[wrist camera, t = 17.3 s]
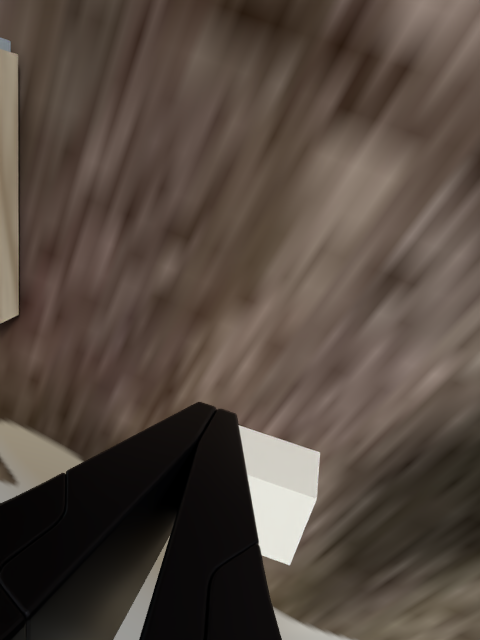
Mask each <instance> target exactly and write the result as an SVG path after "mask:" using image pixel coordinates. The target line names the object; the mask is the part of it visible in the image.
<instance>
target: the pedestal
mask: <svg viewBox="0 0 480 640" xmlns="http://www.w3.org/2000/svg"><path fill="white" fill-rule="evenodd" d="M239 430H240V436H241V441H242V447H243V453H244V459H245V464H246V470H247V476H248V482H249V487H250V493H251V499H252V505H253V510H254V516H255V522H256V528H257V533H258V539H259V544H258V545H259V546H260V549H261V555H263V556H266V557H268V558H271V559H274V560H276V561H279V562H282V563H284V564H287V565H290V563H291V561H292V559H293V556H294V554H295V551H296V549H297V546H298V544H299V541H300V539H301V536H302V534H303V531H304V529H305V526H306V524H307V522H308V519H309V517H310V514H311V512H312V509H313V507H314V504H315V502H316V499H317V488H318V474H319V461H320V452H317V451H314V450H311V449H308V448H305V447H302V446H299V445H296V444H293V443H290V442H287V441H284V440H281V439H278V438H275V437H272V436H269V435H266V434H263V433H260V432H257V431H254V430H251V429H248V428H245V427H242V426H239Z"/></svg>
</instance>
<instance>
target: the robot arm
mask: <svg viewBox="0 0 480 640" xmlns="http://www.w3.org/2000/svg"><path fill="white" fill-rule="evenodd" d="M170 534H171V535H170ZM169 536H170V538H169ZM168 538H169V541H168V545H167V548H166V552H165V555H164V558H163V562H162V565H161V568H160V572H159V575H158V578H157V582H156V585H155V589H154V592H153V596H152V599H151V602H150V605H149V609H148V612H147V616H146V619H145V622H144V626H143V629H142V632H141V636H140V639H139V640H282V639H281V635H280V632H279V628H278V625H277V621H276V618H275V614H274V610H273V606H272V603H271V599H270V595H269V590H268V585H267V581H266V576H265V571H264V566H263V561H262V555H261V549H260V546H259V545H258V544H259V539H258V533H257V528H256V522H255V516H254V510H253V505H252V499H251V493H250V487H249V482H248V476H247V470H246V464H245V459H244V453H243V447H242V441H241V436H240V430H239V424H238V418H237V415H236V414H235V413H233V412H230V411H227V410H224V409H218V410H217V409H216V407H214V406H211V405H208V404H205V403H202V402H197V403H195V404H193V405H191V406H189V407H187V408H186V409H184V410H182V411H180V412H178V413H176V414H174V415H172V416H170V417H168V418H167V419H165V420H163V421H161V422H159V423H157V424H155V425H153V426H151V427H149V428H147V429H146V430H144V431H142V432H140V433H138V434H136V435H134V436H132V437H130V438H128V439H126V440H125V441H123V442H121V443H119V444H117V445H115V446H113V447H111V448H109V449H107V450H105V451H104V452H102V453H100V454H98V455H96V456H94V457H92V458H90V459H88V460H86V461H85V462H83V463H81V464H79V465H77V466H75V467H73V468H71V469H69V470H68V471H66V474H65V473H61V474H59V475H57V476H56V477H54V478H52V479H50V480H48V481H46V482H44V483H42V484H40V485H38V486H36V487H34V488H32V489H30V490H28V491H26V492H24V493H22V494H20V495H18V496H16V497H14V498H12V499H9V500H7V501H5V502H3V503H0V640H113V639H114V637H115V635H116V633H117V631H118V630H119V628H120V626H121V624H122V622H123V621H124V619H125V617H126V615H127V613H128V611H129V610H130V608H131V606H132V604H133V602H134V600H135V598H136V597H137V595H138V593H139V591H140V589H141V587H142V586H143V584H144V582H145V580H146V578H147V576H148V574H149V573H150V571H151V569H152V567H153V565H154V563H155V562H156V560H157V558H158V556H159V554H160V552H161V550H162V549H163V547H164V545H165V543H166V541H167V540H168Z"/></svg>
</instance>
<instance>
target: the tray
mask: <svg viewBox="0 0 480 640" xmlns="http://www.w3.org/2000/svg"><path fill="white" fill-rule="evenodd" d="M17 315H19V235H18V54H15V53H12V52H9V51H5V50H2V49H0V324H1V323H3V322H5V321H7V320H9V319H11V318H13V317H15V316H17Z"/></svg>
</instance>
